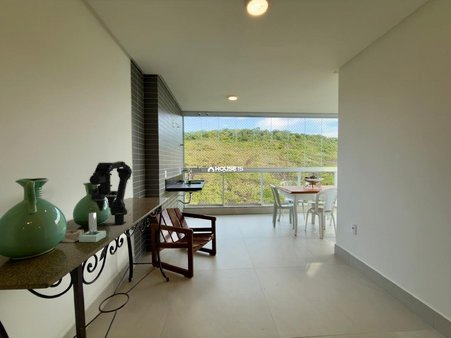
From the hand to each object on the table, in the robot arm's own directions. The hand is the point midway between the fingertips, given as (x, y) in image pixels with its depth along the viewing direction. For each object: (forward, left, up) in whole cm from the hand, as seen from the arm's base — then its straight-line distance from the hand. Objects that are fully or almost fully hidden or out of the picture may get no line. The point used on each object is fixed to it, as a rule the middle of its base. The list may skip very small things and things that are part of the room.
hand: (105, 209), depth 132 cm
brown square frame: (+15, -10, -13) cm, 22 cm away
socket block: (+14, +1, -13) cm, 19 cm away
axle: (+14, +1, -13) cm, 19 cm away
